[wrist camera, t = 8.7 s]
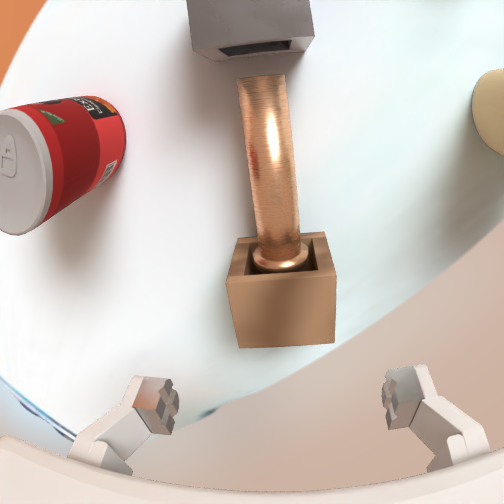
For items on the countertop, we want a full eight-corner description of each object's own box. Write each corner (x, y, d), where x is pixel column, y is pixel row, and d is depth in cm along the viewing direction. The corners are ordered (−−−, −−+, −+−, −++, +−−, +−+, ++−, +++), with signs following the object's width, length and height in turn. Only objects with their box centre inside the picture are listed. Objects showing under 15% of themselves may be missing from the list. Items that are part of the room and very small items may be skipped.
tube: (291, 76, 19) (294, 72, 16) (308, 278, 27) (311, 307, 23) (233, 82, 20) (223, 80, 16) (260, 281, 27) (257, 311, 24)
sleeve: (294, -19, 17) (298, -52, 11) (305, 51, 20) (314, 36, 14) (205, -7, 18) (182, -36, 12) (215, 61, 20) (193, 51, 15)
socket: (324, 231, 26) (336, 275, 20) (325, 291, 29) (334, 342, 23) (237, 238, 27) (225, 283, 21) (247, 296, 30) (239, 348, 24)
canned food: (130, 91, 22) (41, 101, 12) (130, 185, 26) (56, 243, 16) (56, 99, 22) (-36, 119, 12) (61, 182, 26) (-19, 232, 16)
